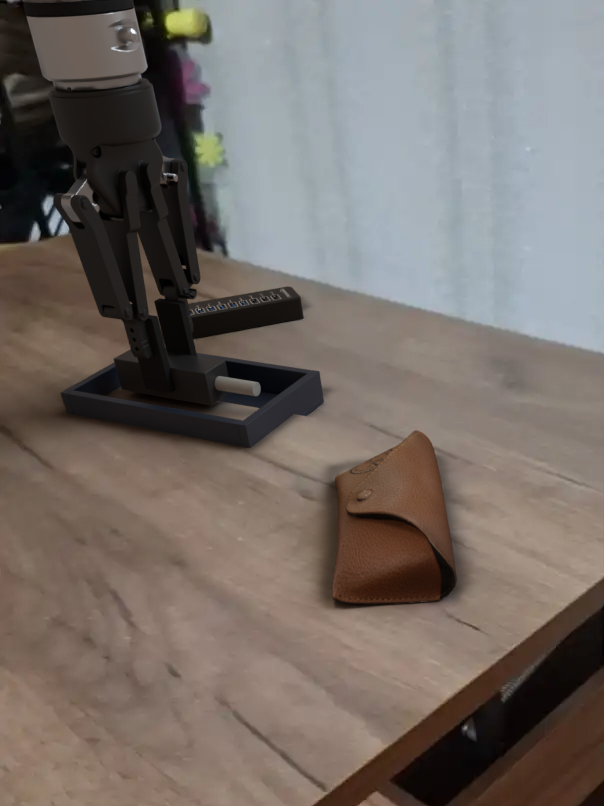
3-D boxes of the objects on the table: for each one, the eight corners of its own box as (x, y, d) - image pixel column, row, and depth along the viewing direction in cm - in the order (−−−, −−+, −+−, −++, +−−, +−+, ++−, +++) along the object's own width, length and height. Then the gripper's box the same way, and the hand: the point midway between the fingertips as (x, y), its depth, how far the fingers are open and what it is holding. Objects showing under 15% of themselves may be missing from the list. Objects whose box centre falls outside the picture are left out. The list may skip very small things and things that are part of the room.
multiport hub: (164, 329, 103) (159, 308, 102) (294, 305, 108) (290, 285, 106) (171, 342, 100) (166, 321, 99) (304, 318, 104) (301, 297, 103)
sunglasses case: (328, 472, 75) (363, 401, 72) (407, 504, 78) (444, 437, 75) (329, 606, 62) (373, 525, 58) (426, 639, 64) (473, 564, 61)
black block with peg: (122, 390, 86) (112, 358, 85) (143, 377, 89) (135, 346, 87) (250, 412, 82) (243, 379, 80) (269, 398, 84) (263, 365, 82)
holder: (70, 423, 85) (59, 392, 84) (153, 374, 94) (145, 344, 92) (252, 458, 79) (245, 425, 77) (324, 402, 87) (319, 370, 85)
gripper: (60, 101, 64) (149, 424, 78) (205, 64, 75) (259, 352, 90) (-23, 97, 66) (78, 411, 81) (129, 62, 78) (194, 343, 92)
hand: (173, 380), depth 85 cm, fingers closed on black block with peg, 3 cm apart
